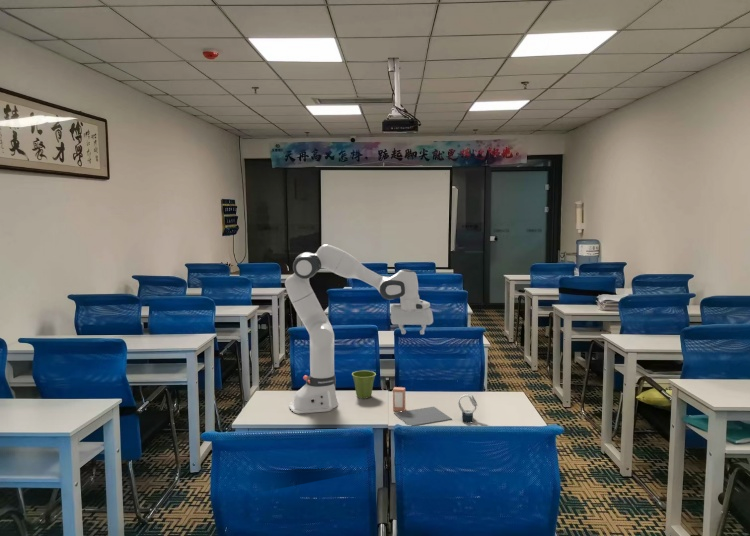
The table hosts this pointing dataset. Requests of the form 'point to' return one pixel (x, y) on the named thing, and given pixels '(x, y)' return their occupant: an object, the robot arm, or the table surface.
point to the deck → (398, 399)
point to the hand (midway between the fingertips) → (412, 334)
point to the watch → (468, 415)
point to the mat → (422, 416)
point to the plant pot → (363, 383)
